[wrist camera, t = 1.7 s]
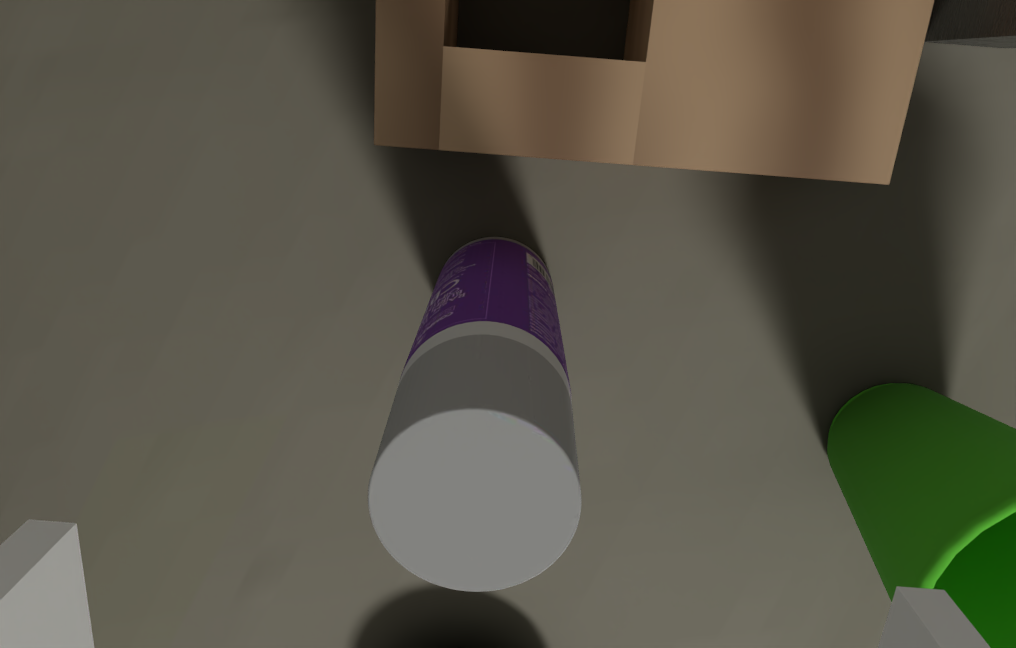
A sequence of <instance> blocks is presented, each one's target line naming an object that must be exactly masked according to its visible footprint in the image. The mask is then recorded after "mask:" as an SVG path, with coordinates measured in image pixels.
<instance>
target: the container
mask: <svg viewBox="0 0 1016 648" xmlns="http://www.w3.org/2000/svg"><path fill="white" fill-rule="evenodd" d="M368 506H369V513H370V517H371V521H372V524H373V527H374V529H375V531H376V533H377V535H378V537H379V539H380V541H381V542H382V544H383V545H384V547H385V548H386V550H387V551H388V552H389V553H390V554H391V555H392V556H393V558H394V559H395V560H396V561H398V562H399V563H400V564H401V565H402V566H403V567H405V568H406V569H407V570H409V571H410V572H412V573H413V574H415V575H416V576H418V577H420V578H422V579H424V580H426V581H428V582H431V583H433V584H436V585H439V586H442V587H446V588H449V589H454V590H461V591H473V592H482V591H494V590H500V589H504V588H508V587H512V586H515V585H518V584H520V583H523V582H525V581H527V580H529V579H531V578H533V577H535V576H537V575H538V574H540V573H541V572H543V571H544V570H546V569H547V568H548V567H549V566H551V565H552V564H553V563H554V562H555V561H556V560H557V559H558V558H559V557H560V556H561V554H562V553H563V552H564V551H565V549H566V548H567V546H568V545H569V543H570V541H571V540H572V538H573V536H574V534H575V531H576V528H577V526H578V522H579V518H580V513H581V489H580V479H579V470H578V460H577V450H576V441H575V431H574V421H573V412H572V401H571V390H570V384H569V378H568V372H567V366H566V360H565V354H564V348H563V342H562V336H561V330H560V324H559V319H558V313H557V307H556V301H555V295H554V289H553V284H552V280H551V276H550V274H549V271H548V269H547V267H546V265H545V264H544V262H543V261H542V259H541V258H540V257H539V256H538V255H537V254H536V253H535V252H534V251H533V250H532V249H530V248H529V247H527V246H526V245H524V244H522V243H520V242H518V241H516V240H513V239H509V238H504V237H485V238H480V239H477V240H474V241H471V242H469V243H467V244H465V245H464V246H462V247H460V248H459V249H458V250H457V251H455V252H454V253H453V254H452V255H451V257H450V258H449V259H448V260H447V262H446V263H445V265H444V267H443V269H442V271H441V272H440V275H439V277H438V280H437V283H436V285H435V288H434V291H433V293H432V296H431V298H430V301H429V304H428V306H427V309H426V312H425V314H424V317H423V319H422V322H421V325H420V327H419V330H418V333H417V335H416V338H415V340H414V343H413V346H412V348H411V351H410V354H409V356H408V359H407V361H406V364H405V367H404V369H403V372H402V375H401V378H400V382H399V385H398V389H397V392H396V395H395V399H394V402H393V405H392V408H391V412H390V415H389V418H388V421H387V425H386V428H385V431H384V434H383V438H382V441H381V444H380V447H379V451H378V454H377V457H376V460H375V464H374V467H373V470H372V474H371V477H370V481H369V488H368Z"/></svg>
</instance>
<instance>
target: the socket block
mask: <svg viewBox="0 0 1016 648" xmlns="http://www.w3.org/2000/svg"><path fill="white" fill-rule="evenodd" d="M933 4H934V0H630V8H629V17H628V25H627V33H626V42H625V50H624V59H623V60H613V59H600V58H587V57H575V56H562V55H549V54H537V53H524V52H511V51H498V50H486V49H473V48H460V47H457V31H458V10H459V0H376V32H375V109H374V145H380V146H393V147H406V148H419V149H432V150H445V151H458V152H471V153H484V154H497V155H510V156H523V157H536V158H549V159H562V160H575V161H588V162H601V163H614V164H627V165H640V166H653V167H666V168H679V169H692V170H705V171H718V172H731V173H744V174H757V175H770V176H783V177H796V178H809V179H822V180H835V181H848V182H861V183H874V184H887V185H889V183H890V179H891V175H892V171H893V167H894V163H895V159H896V155H897V151H898V147H899V143H900V139H901V134H902V130H903V126H904V122H905V118H906V114H907V110H908V106H909V102H910V98H911V94H912V90H913V86H914V81H915V77H916V73H917V69H918V65H919V61H920V57H921V53H922V49H923V45H924V41H925V37H926V33H927V28H928V24H929V20H930V16H931V12H932V8H933Z"/></svg>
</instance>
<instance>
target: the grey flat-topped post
mask: <svg viewBox="0 0 1016 648" xmlns="http://www.w3.org/2000/svg"><path fill="white" fill-rule="evenodd" d="M924 42H934V43H946V44H959V45H971V46H984V47H997V48H1016V0H934V4H933V8H932V12H931V16H930V20H929V24H928V28H927V33H926V37H925V41H924Z"/></svg>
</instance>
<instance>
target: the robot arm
mask: <svg viewBox="0 0 1016 648" xmlns="http://www.w3.org/2000/svg"><path fill="white" fill-rule="evenodd" d="M0 648H94V643H93V636H92V629H91V622H90V615H89V608H88V601H87V594H86V587H85V580H84V573H83V566H82V559H81V552H80V545H79V538H78V531H77V524H76V523H68V522H55V521H42V520H29V519H28V520H27V521H26V522H25V523H24V524H23V525H22V526H21V527H20V528H19V529H17V530H16V531H15V532H14V533H13V534H12V535H11V536H10V537H9V538H7V539H6V540H5V541H4V542H3V543H2V544H1V545H0ZM878 648H990V646H989V645H988V644H987V643H986V641H985V640H984V639H983V638H982V636H981V635H980V634H979V633H978V631H977V630H976V629H975V628H974V626H973V625H972V624H971V623H970V621H969V620H968V619H967V618H966V616H965V615H964V614H963V613H962V611H961V610H960V609H959V608H958V606H957V605H956V604H955V603H954V601H953V600H952V599H951V598H950V596H949V595H948V594H947V593H946V591H945V590H938V589H925V588H912V587H899V586H897V587H896V590H895V593H894V597H893V600H892V603H891V606H890V610H889V613H888V616H887V620H886V623H885V626H884V630H883V633H882V636H881V639H880V643H879V646H878Z"/></svg>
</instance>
